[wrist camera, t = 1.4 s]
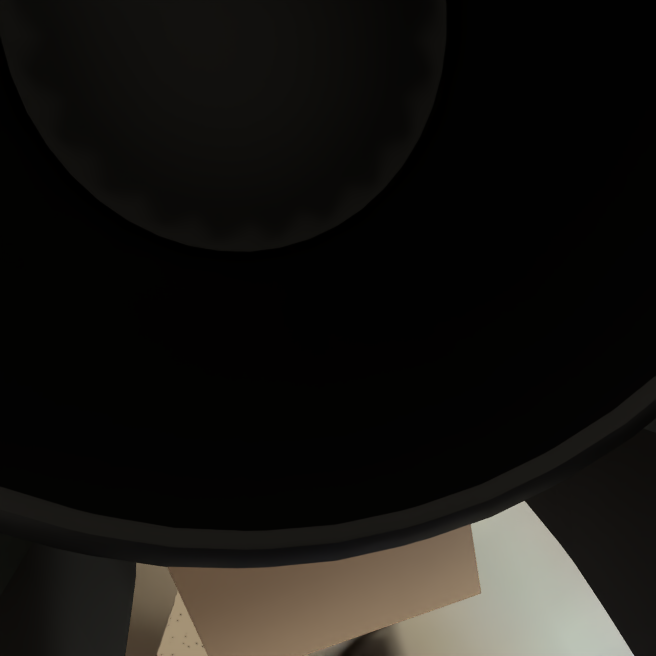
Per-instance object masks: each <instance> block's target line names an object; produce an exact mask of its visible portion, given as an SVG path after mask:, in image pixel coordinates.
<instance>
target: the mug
mask: <svg viewBox="0 0 656 656" xmlns="http://www.w3.org/2000/svg"><path fill="white" fill-rule="evenodd" d="M655 419H656V0H0V533H1V534H5V535H9V536H12V537H16V538H19V539H23V540H27V541H30V542H34V543H38V544H41V545H45V546H48V547H52V548H56V549H61V550H66V551H70V552H75V553H80V554H84V555H89V556H96V557H103V558H109V559H116V560H123V561H130V562H136V563H143V564H150V565H157V566H163V567H196V568H237V569H238V568H266V567H278V566H288V565H298V564H309V563H319V562H329V561H338V560H342V559H347V558H351V557H356V556H360V555H365V554H369V553H374V552H378V551H383V550H387V549H392V548H396V547H401V546H405V545H408V544H412V543H415V542H419V541H422V540H426V539H429V538H432V537H435V536H438V535H441V534H443V533H446V532H449V531H452V530H455V529H458V528H461V527H463V526H466V525H469V524H472V523H475V522H478V521H481V520H483V519H486V518H489V517H492V516H494V515H496V514H498V513H500V512H502V511H504V510H506V509H508V508H510V507H512V506H514V505H516V504H518V503H520V502H523V501H525V500H527V499H529V498H531V497H533V496H535V495H537V494H539V493H541V492H543V491H545V490H547V489H549V488H551V487H553V486H555V485H556V484H558V483H560V482H562V481H564V480H565V479H567V478H569V477H571V476H572V475H574V474H576V473H578V472H579V471H581V470H582V469H584V468H585V467H587V466H589V465H590V464H592V463H593V462H595V461H596V460H598V459H599V458H601V457H603V456H604V455H606V454H607V453H609V452H610V451H612V450H614V449H615V448H617V447H618V446H620V445H621V444H623V443H625V442H626V441H628V440H629V439H631V438H632V437H634V436H635V435H636V434H637V433H639V432H640V431H641V430H642V429H643V428H645V427H646V426H647V425H648V424H650V423H651V422H652V421H653V420H655Z"/></svg>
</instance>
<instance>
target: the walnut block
mask: <svg viewBox="0 0 656 656" xmlns="http://www.w3.org/2000/svg"><path fill="white" fill-rule="evenodd" d="M168 570H169V572H170V574H171V576H172V578H173V581H174V583H175V585H176V587H177V589H178V591H179V594H180V596H181V598H182V600H183V602H184V605H185V607H186V609H187V611H188V613H189V615H190V618H191V620H192V622H193V624H194V626H195V628H196V631H197V633H198V635H199V637H200V639H201V642H202V644H203V646H204V648H205V650H206V652H207V655H208V656H304V655H307V654H310V653H313V652H315V651H318V650H321V649H324V648H327V647H330V646H333V645H335V644H338V643H341V642H344V641H347V640H350V639H353V638H355V637H358V636H361V635H364V634H367V633H370V632H372V631H375V630H378V629H381V628H384V627H387V626H390V625H392V624H395V623H398V622H401V621H404V620H407V619H410V618H412V617H415V616H418V615H421V614H424V613H427V612H430V611H432V610H435V609H438V608H441V607H444V606H447V605H449V604H452V603H455V602H458V601H461V600H464V599H467V598H469V597H472V596H475V595H478V594H481V588H480V582H479V575H478V569H477V563H476V556H475V550H474V543H473V537H472V530H471V524H469V525H466V526H463V527H461V528H458V529H455V530H452V531H449V532H446V533H443V534H441V535H438V536H435V537H432V538H429V539H426V540H422V541H419V542H415V543H412V544H408V545H405V546H401V547H396V548H392V549H387V550H383V551H378V552H374V553H369V554H365V555H360V556H356V557H351V558H347V559H342V560H338V561H329V562H319V563H309V564H298V565H288V566H278V567H266V568H238V569H237V568H196V567H168Z"/></svg>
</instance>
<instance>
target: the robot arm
mask: <svg viewBox="0 0 656 656" xmlns="http://www.w3.org/2000/svg"><path fill="white" fill-rule="evenodd" d="M525 502H526V503H527V504H528V505H529V506H530V508H531V509H532V510H533V511H534V513H535V514H536V515H537V516H538V517H539V519H540V520H541V521H542V522H543V524H544V525H545V526H546V527H547V528H548V530H549V531H550V532H551V533H552V534H553V536H554V537H555V538H556V539H557V541H558V542H559V543H560V544H561V546H562V547H563V548H564V550H565V551H566V552H567V554H568V555H569V556H570V558H571V559H572V560H573V562H574V563H575V564H576V566H577V567H578V569H579V571H580V572H581V574H582V575H583V577H584V578H585V580H586V581H587V583H588V584H589V586H590V587H591V589H592V590H593V592H594V593H595V595H596V596H597V598H598V599H599V601H600V602H601V604H602V605H603V607H604V608H605V610H606V612H607V613H608V615H609V616H610V618H611V619H612V621H613V623H614V624H615V626H616V627H617V629H618V631H619V632H620V634H621V635H622V637H623V638H624V640H625V642H626V643H627V645H628V646H629V648H630V650H631V651H632V653H633V654H634V656H656V419H655V420H653V421H652V422H651V423H650V424H648V425H647V426H646V427H645V428H643V429H642V430H641V431H640V432H639V433H637V434H636V435H635V436H634V437H632V438H631V439H629V440H628V441H626V442H625V443H623V444H621V445H620V446H618V447H617V448H615V449H614V450H612V451H610V452H609V453H607V454H606V455H604V456H603V457H601V458H599V459H598V460H596V461H595V462H593V463H592V464H590V465H589V466H587V467H585V468H584V469H582V470H581V471H579V472H578V473H576V474H574V475H572V476H571V477H569V478H567V479H565V480H564V481H562V482H560V483H558V484H556V485H555V486H553V487H551V488H549V489H547V490H545V491H543V492H541V493H539V494H537V495H535V496H533V497H531V498H529V499H527V500H525ZM135 578H136V562H130V561H123V560H116V559H109V558H103V557H96V556H89V555H84V554H80V553H75V552H70V551H66V550H61V549H56V548H52V547H48V546H45V545H41V544H38V543H34V542H30V541H27V540H23V539H19V538H16V537H12V536H9V535H5V534H1V533H0V656H125V653H126V645H127V638H128V631H129V624H130V617H131V610H132V602H133V595H134V587H135Z"/></svg>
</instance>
